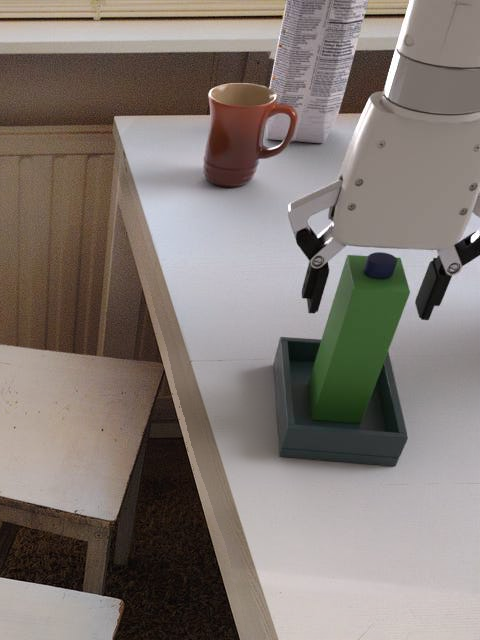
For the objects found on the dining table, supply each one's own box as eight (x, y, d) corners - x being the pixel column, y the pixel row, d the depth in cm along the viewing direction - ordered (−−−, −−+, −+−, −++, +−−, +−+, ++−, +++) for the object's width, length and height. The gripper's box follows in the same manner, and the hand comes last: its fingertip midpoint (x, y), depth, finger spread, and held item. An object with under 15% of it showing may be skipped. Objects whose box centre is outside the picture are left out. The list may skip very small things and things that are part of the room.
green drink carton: (307, 383, 82) (351, 240, 71) (354, 387, 81) (405, 243, 70) (311, 420, 78) (358, 274, 67) (360, 423, 78) (416, 278, 66)
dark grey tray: (272, 364, 86) (280, 336, 83) (376, 371, 85) (386, 343, 82) (279, 456, 76) (287, 428, 74) (395, 466, 75) (408, 437, 73)
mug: (188, 186, 114) (200, 101, 106) (205, 162, 118) (218, 79, 111) (275, 199, 110) (294, 113, 102) (289, 174, 115) (308, 90, 107)
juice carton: (331, 147, 120) (395, -96, 99) (258, 142, 122) (305, -98, 102) (332, 125, 126) (393, -111, 105) (263, 120, 128) (309, -113, 107)
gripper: (558, 66, 60) (462, 292, 73) (313, 61, 62) (263, 282, 76) (586, 104, 55) (478, 338, 69) (320, 97, 57) (266, 325, 71)
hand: (366, 308), depth 72 cm, fingers open, 8 cm apart
